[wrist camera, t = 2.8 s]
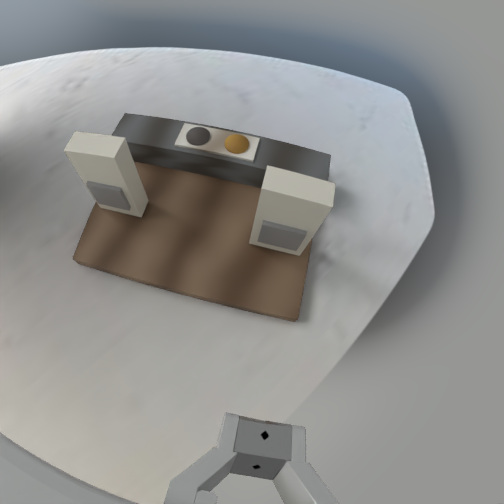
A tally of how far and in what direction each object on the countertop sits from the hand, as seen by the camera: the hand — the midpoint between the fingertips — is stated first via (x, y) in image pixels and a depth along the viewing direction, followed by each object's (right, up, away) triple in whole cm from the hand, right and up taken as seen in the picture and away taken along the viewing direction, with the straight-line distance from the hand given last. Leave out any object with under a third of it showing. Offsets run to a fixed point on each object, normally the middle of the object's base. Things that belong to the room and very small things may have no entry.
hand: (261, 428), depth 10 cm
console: (-5, +11, +22) cm, 25 cm away
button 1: (+2, +7, +20) cm, 22 cm away
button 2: (-14, +11, +20) cm, 27 cm away
